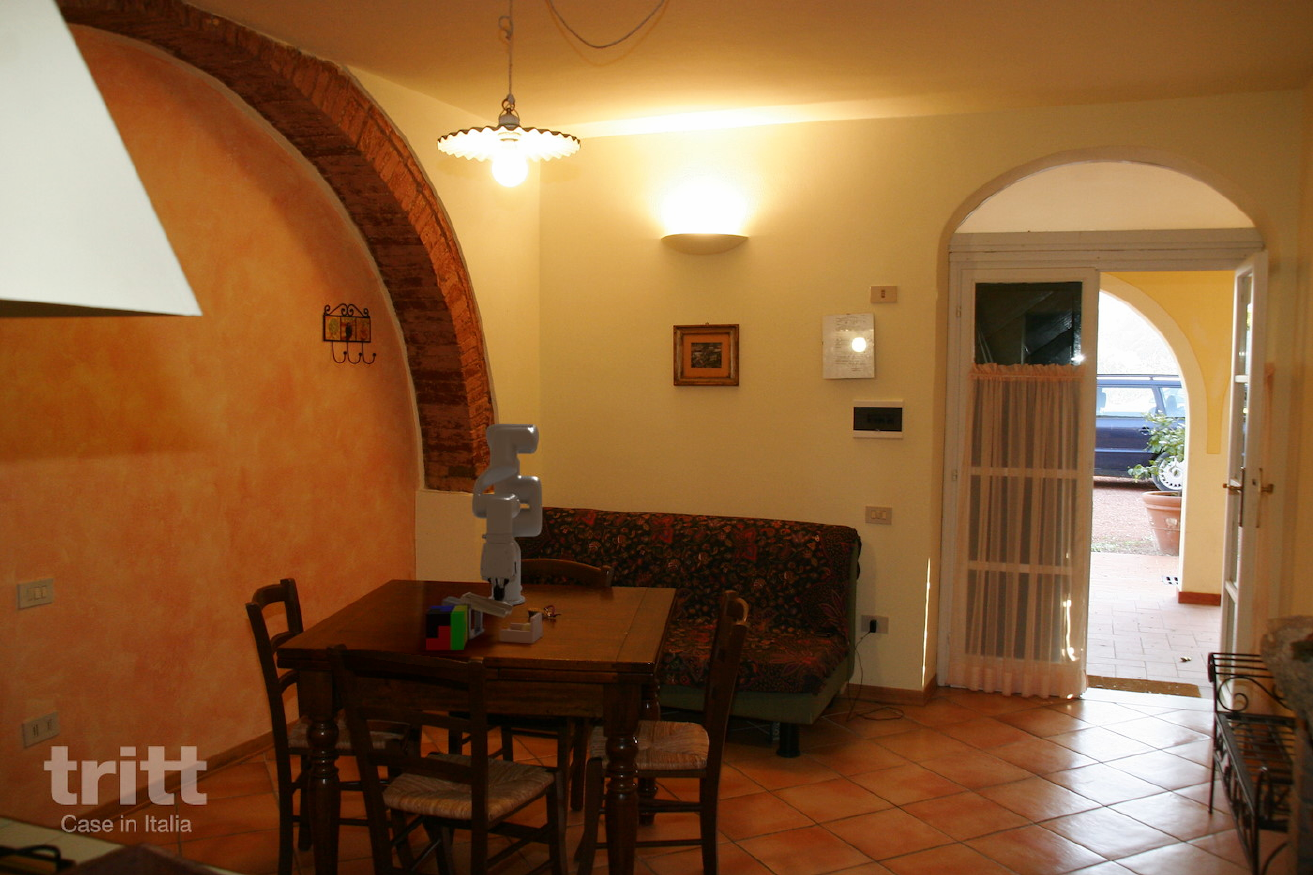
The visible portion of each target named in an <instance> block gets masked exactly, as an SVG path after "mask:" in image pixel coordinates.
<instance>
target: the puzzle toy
mask: <svg viewBox="0 0 1313 875" xmlns="http://www.w3.org/2000/svg"><path fill="white" fill-rule="evenodd" d="M467 642H468V639H467V606H442V605H431V606H430V607H429V608H428V610H427V612H426V613H425V651H455V650H456V651H460V650H461V651H463V650H464V649H465V646H466V643H467Z"/></svg>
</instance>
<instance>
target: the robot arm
mask: <svg viewBox="0 0 1313 875" xmlns="http://www.w3.org/2000/svg"><path fill="white" fill-rule="evenodd" d="M485 439H486V442H487V446H488V448H489V451H490V456H489V466H488V467H487V468H486V469H485V470H484V471H483V472H481V474H480V475H479V476H478V478H477V479H476V480H475V482H474V486H473V490H472V498H471V499H472V501H471V510H472V511H471V512H472V514H473V516H474V517H476V518H477V519H480V520H481V519H484V520H486V524H485V526H486V527H485V528H486V529H485V530H486V532H485V533H483V534H482V535H481V538H482V540H483V539H484V540H485V542H484V543H483V545H482V550H481V556H480V567H479V571H480V572H479V573H480V576H481V577H480V579H481V580H482V581H485V582H488V584H490V585H491V596H489V597H487V598H489V599H493V600H496V601H502V600H503V601H504V602H507V604H510V605H513V606H514V605H520V604H523V603H525V602H526V598H525V596H523V595H522V594H521V591H523V586H522V585H521V576H522V575H521V574H522V572H521V570H522V569H521V568H522V567H521V565H522V564H521V561H522V560H521V559H522V557H521V554H522V553H521V547H520V546H519V544H518V543H517V541H516V540H515V539H514V538H515V537H516V538H517V537H538V536H539V535H540V534H541V533H542V529H543V485H542V481H541V479H540V477H537V476H535V475H521V461H520V459H519V457H518V455H521V454H523V455H526V454H527V455H532V454H534V453H536V452H537V450H538V446H539V441H540V432H539V428H538V426H536V424H532V423H494V424H491V425H489V426H487V428H486V429H485ZM491 486H494V488H493V492H494V493H484V492H485V490H487V489H488V488H489V487H491ZM521 505H527V506H528V507H521Z"/></svg>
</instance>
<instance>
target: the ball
mask: <svg viewBox="0 0 1313 875" xmlns="http://www.w3.org/2000/svg"><path fill="white" fill-rule="evenodd" d="M523 624H524V625H523V627H522V631H530V622H526V623H523Z"/></svg>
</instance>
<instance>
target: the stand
mask: <svg viewBox="0 0 1313 875" xmlns="http://www.w3.org/2000/svg"><path fill="white" fill-rule="evenodd" d="M463 606H467V640H472V639H474V638H475V637H477V636H479V635H481V634H483V633H484V632H486V631H485V630H486V629H485V628H483V612H481V611H478V610H474V609H473V610H474V611H473V612H474V615H473V617H474V622H473V627H474V628H473V629H472V627H471V626H472V622H471V621H472V620H471V619H472V612H471V611H472V610H471V604H469V603H464V604H463Z"/></svg>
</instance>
